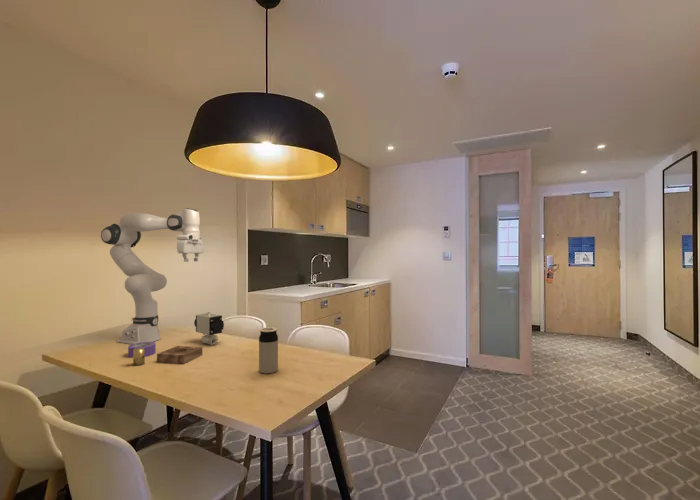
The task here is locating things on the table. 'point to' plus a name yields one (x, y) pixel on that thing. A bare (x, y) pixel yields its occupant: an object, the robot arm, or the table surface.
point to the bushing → (138, 356)
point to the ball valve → (209, 327)
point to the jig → (179, 354)
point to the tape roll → (147, 345)
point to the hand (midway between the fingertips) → (191, 261)
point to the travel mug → (268, 350)
